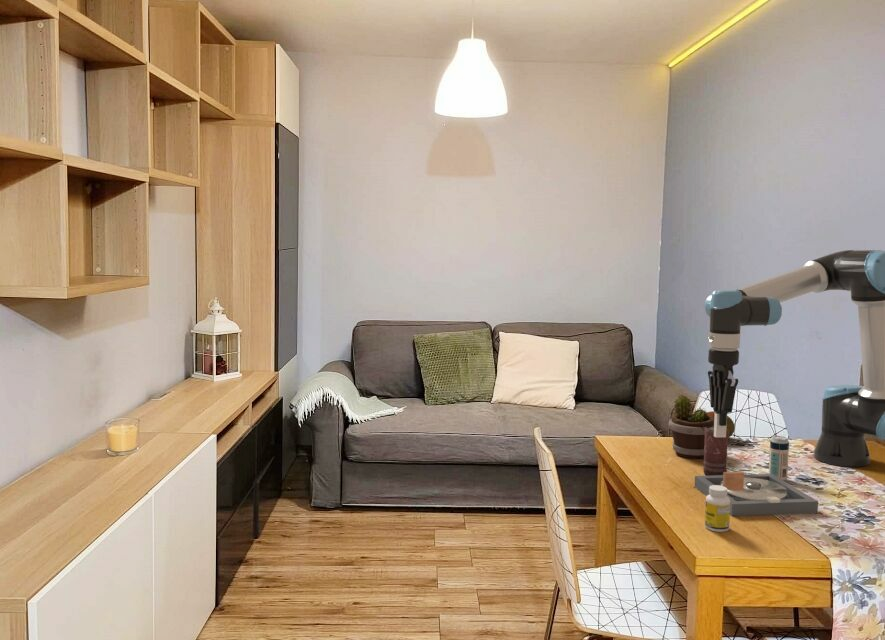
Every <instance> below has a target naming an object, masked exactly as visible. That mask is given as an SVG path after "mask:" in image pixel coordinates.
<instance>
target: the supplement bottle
mask: <svg viewBox="0 0 885 640" xmlns="http://www.w3.org/2000/svg"><path fill="white" fill-rule="evenodd" d="M709 493H710V495H708V496H706V497H705V511H704V512H705V514H704V526H705V528H706V529H707V530H709V531H712V532H716V533H717V532H718V533H723V532H724V533H725V532H728V531H729V530H730V518H731V517H730V516H731V515H730V499H729V498H728V497H727V496H726V495H727V488H726V487H724V486H720V485H712V486H710V487H709Z"/></svg>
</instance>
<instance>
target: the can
mask: <svg viewBox="0 0 885 640" xmlns="http://www.w3.org/2000/svg"><path fill="white" fill-rule="evenodd" d="M729 438H730V437H729V430H728V429H727V428H726V437H714V426H707V427H706V429H705V445H704V458H703V474H704V476H711V475H723V472H727V465H728V464H727V463H728V462H727V461H728V442H729Z"/></svg>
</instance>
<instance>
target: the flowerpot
mask: <svg viewBox="0 0 885 640" xmlns="http://www.w3.org/2000/svg"><path fill="white" fill-rule="evenodd" d="M693 405H694V403H692V399H691V398H690V397H689V395H686V394H684V393H683V392H681V393H679V395H677V396H676V398H675V399H673V410H674V411H673V412H674V413H673V414H674V415H673V416H671V418H670V419H669V421H668V428H669V429H670V431H671V434H672V439H673V442H672V444H671V445H672V449H673V451H674V453H675V454H676V455H677V456H679V457H683V458H687V459H704V445H705V429H706V427H707V426H714V419H713V417H711V416H709V415H707V413H706V412H707V410H706V408H702V407H701V406H698V409H695V410H694V411H692V408H693Z"/></svg>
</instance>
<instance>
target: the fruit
mask: <svg viewBox="0 0 885 640" xmlns="http://www.w3.org/2000/svg"><path fill="white" fill-rule="evenodd" d="M705 412H706V413H707V415H709V416H711V417H713V419H714V417H715V411H714V410H713V411H711V410H710V411H705ZM726 428H727V429H728V430H729V438H730V437H731V436H732V435H733V434H734V433H735V430H736V429H735V428H736V425H735V423H734V421H733V419H732V418H731V417H730V416H728V415H727V426H726Z"/></svg>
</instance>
